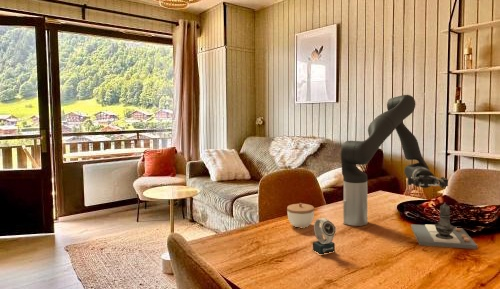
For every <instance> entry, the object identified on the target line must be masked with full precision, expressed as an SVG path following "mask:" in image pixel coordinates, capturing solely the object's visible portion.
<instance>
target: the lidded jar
mask: <svg viewBox="0 0 500 289" xmlns="http://www.w3.org/2000/svg"><path fill="white" fill-rule="evenodd" d="M286 212H287V218H288V221H289V223H290V225H292V226H295V227H302V228H303V229H305V228H304V227H307V228H309V227H308V226H310V225H311V224H312V223H313V220H314V215H315V207H314V206H313V205H311V204H308V203H302V202H299V203H293V204H289V205H287V208H286ZM295 227H294V228H295Z"/></svg>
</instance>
